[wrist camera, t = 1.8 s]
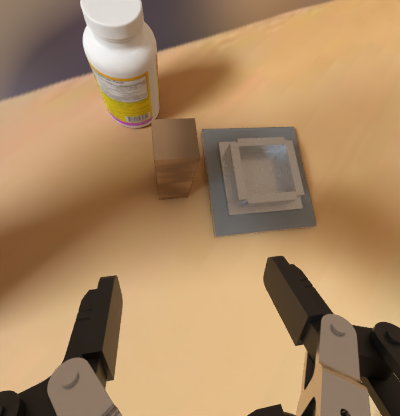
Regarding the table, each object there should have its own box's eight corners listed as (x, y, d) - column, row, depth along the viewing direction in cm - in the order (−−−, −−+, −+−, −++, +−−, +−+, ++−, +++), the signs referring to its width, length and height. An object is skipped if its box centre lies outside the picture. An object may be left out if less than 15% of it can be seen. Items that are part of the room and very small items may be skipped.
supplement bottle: (127, 78, 31) (101, -43, 19) (169, 103, 31) (170, -2, 19) (97, 113, 29) (47, 5, 17) (142, 139, 29) (124, 50, 17)
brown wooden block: (159, 199, 28) (154, 160, 17) (156, 172, 29) (151, 119, 18) (187, 197, 29) (199, 157, 18) (184, 171, 29) (194, 118, 19)
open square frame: (228, 216, 28) (234, 211, 25) (217, 144, 30) (222, 133, 27) (300, 209, 29) (312, 204, 27) (285, 141, 31) (295, 131, 29)
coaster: (214, 237, 28) (216, 236, 27) (201, 133, 31) (202, 129, 30) (311, 226, 30) (316, 225, 29) (290, 130, 33) (293, 126, 32)
